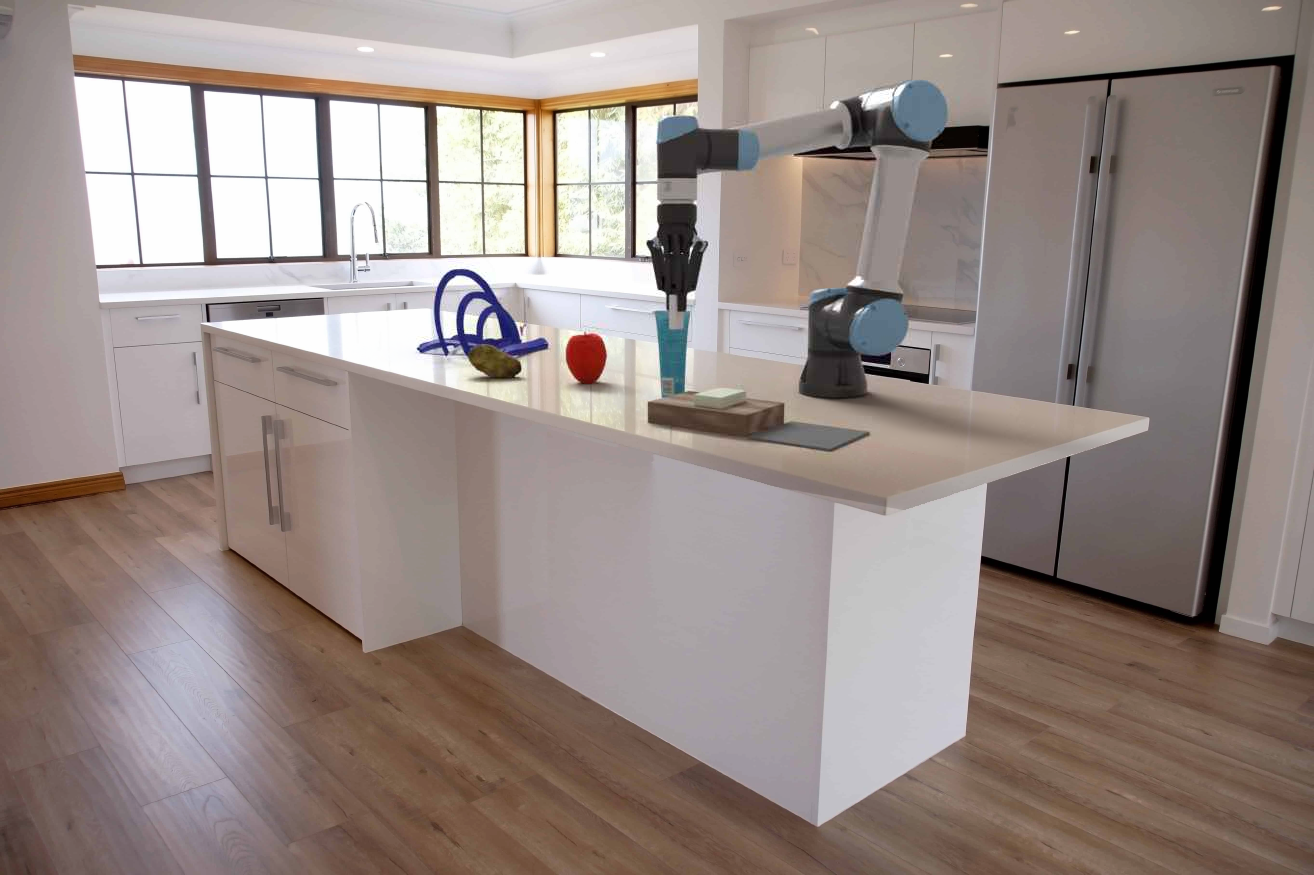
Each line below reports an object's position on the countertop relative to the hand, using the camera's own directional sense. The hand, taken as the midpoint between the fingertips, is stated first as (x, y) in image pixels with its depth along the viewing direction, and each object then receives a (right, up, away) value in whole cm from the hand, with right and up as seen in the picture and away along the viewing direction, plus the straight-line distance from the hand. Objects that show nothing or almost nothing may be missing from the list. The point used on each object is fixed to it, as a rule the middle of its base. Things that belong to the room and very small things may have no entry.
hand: (676, 328), depth 185 cm
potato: (-44, -6, +53) cm, 69 cm away
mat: (+24, -21, -13) cm, 34 cm away
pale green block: (+8, -14, -3) cm, 17 cm away
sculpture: (-55, +4, +98) cm, 113 cm away
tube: (0, -13, +21) cm, 25 cm away
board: (+8, -18, -1) cm, 20 cm away
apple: (-20, -8, +44) cm, 49 cm away
